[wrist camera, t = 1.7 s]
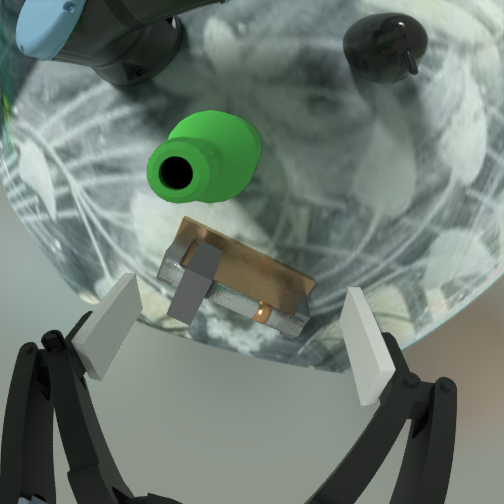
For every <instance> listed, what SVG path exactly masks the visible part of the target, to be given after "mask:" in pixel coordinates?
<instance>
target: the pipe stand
mask: <svg viewBox="0 0 504 504" xmlns="http://www.w3.org/2000/svg"><path fill="white" fill-rule="evenodd" d="M201 241H203V242H205V243H207V244H209V245H211V246H213V247H215V248H217V249H220V250H222V251H223V254H222V256H221V259H220V262H219V265H218V267H217V270H216V273H215V276H214V279H213V281H212V283H211V285H210V287H209V289H208V291H207V293H206V295H205V297H204V298H205V299H208V300H210V301H212V302H214V303H216V304H218V305H221V306H223V307H225V308H227V309H230V310H232V311H234V312H236V313H239V314H241V315H243V316H245V317H248V318H250V319H252V320H254V321H256V322H259V323H261V324H264V325H267V326H269V327H271V328H274V329H276V330H279V331H280V335H283V336H285V337H288V338H290V339H294V337H297V336H298V335H299V334H300V333H301V331H302V329H303V327H304V325H305V324H306V323H307V322H308V320H309V319H310V313H309V307H308V302H307V295H308V293H309V292H310V291H311V289H312V288H313V286H314V285H315V284H316V280H315V279H313V278H311V277H309V276H307V275H305V274H303V273H301V272H299V271H297V270H295V269H293V268H291V267H289V266H287V265H285V264H283V263H281V262H279V261H277V260H275V259H273V258H271V257H269V256H267V255H265V254H263V253H260V252H258V251H256V250H254V249H252V248H250V247H248V246H246V245H244V244H242V243H240V242H238V241H236V240H234V239H232V238H230V237H228V236H226V235H224V234H222V233H220V232H218V231H216V230H213V229H211V228H209V227H207V226H205V225H203V224H201V223H199V222H197V221H195V220H193V219H191V218H189V217H187V216H185V217H184V218H183V220H182V222H181V225H180V227H179V230H178V232H177V235H176V237H175V240H174V242H173V243H172V244H171V245H170V247H169V248H168V249H167V250H166V252H165V255H164V258H163V261H162V263H161V266H160V269H159V272H158V274H157V277H156V279H158V280H160V281H162V282H164V283H166V284H168V285H170V286H171V284H172V283H174V284H176V285H179V283H180V281H181V278H182V276H183V274H184V271H185V269H186V267H187V265H188V263H189V262H190V260H191V258H192V256H193V254H194V253H195V251H196V249H197V247H198V246H199V244H200V242H201Z"/></svg>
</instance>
